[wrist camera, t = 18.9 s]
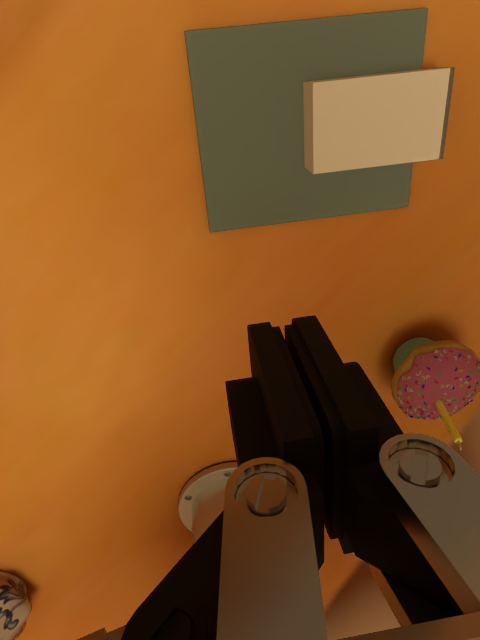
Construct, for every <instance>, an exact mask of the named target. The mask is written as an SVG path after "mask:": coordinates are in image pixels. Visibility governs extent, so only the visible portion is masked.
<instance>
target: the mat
mask: <svg viewBox="0 0 480 640" xmlns="http://www.w3.org/2000/svg"><path fill="white" fill-rule="evenodd" d="M427 12H428V8H420V9H409V10H399V11H389V12H378V13H368V14H358V15H347V16H337V17H326V18H316V19H306V20H295V21H285V22H275V23H264V24H254V25H244V26H233V27H223V28H213V29H202V30H192V31H184V32H185V40H186V48H187V56H188V64H189V71H190V79H191V87H192V95H193V103H194V111H195V119H196V127H197V134H198V142H199V150H200V158H201V166H202V174H203V182H204V189H205V197H206V205H207V213H208V221H209V229H210V232H217V231H225V230H232V229H240V228H248V227H256V226H263V225H271V224H279V223H287V222H294V221H302V220H310V219H318V218H325V217H333V216H341V215H349V214H357V213H364V212H372V211H380V210H388V209H395V208H403V207H408V204H409V194H410V184H411V174H412V164H413V162H410V163H402V164H393V165H385V166H377V167H369V168H361V169H352V170H344V171H336V172H328V173H320V174H313V173H311V172H310V171H308V170H307V169H306V168H305V163H304V104H303V82H308V81H317V80H326V79H336V78H345V77H354V76H364V75H373V74H382V73H392V72H401V71H410V70H420V69H422V63H423V52H424V42H425V32H426V22H427Z"/></svg>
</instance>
